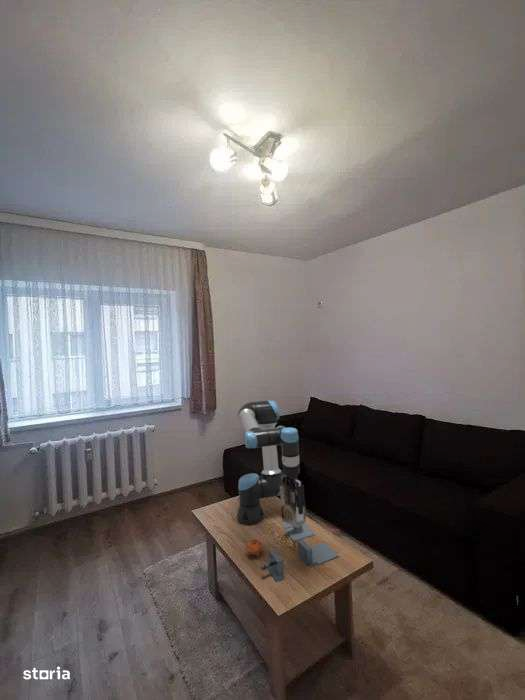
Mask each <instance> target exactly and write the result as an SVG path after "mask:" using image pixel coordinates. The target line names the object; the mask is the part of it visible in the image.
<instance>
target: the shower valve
mask: <svg viewBox="0 0 525 700" xmlns="http://www.w3.org/2000/svg"><path fill="white" fill-rule="evenodd" d="M281 526H282V528H283V530H284V531H285V532H286V534H287V535H288V537H289V538H290V539H291V540H292V541H293V542H298V540H300V539H303V540H304V539H307V538H310V537H313V536H315V535H316V533H315V531H314V530H313V529H311V527H310V526H309V525H308V524H307V522H305V523H304V524H303V525H301V526H300V527H299V528H296V527H294V526H292V525H290V524H287V523H284V524H282V525H281Z"/></svg>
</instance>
